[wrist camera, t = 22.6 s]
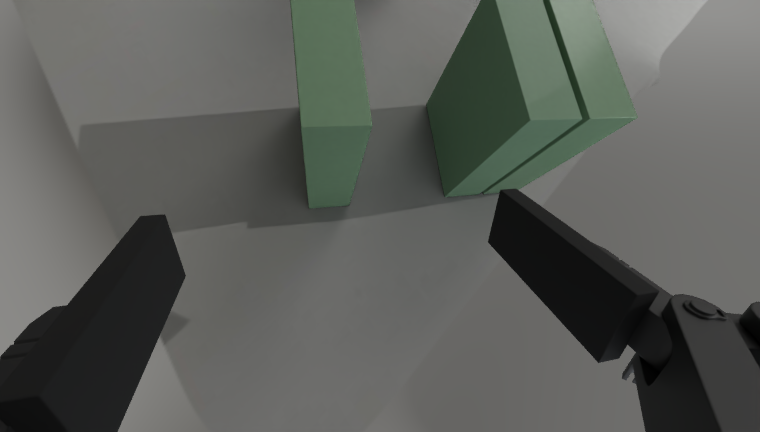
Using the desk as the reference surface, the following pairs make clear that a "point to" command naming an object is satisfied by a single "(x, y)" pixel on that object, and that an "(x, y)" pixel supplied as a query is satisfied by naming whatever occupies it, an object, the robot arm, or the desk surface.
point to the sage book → (330, 98)
